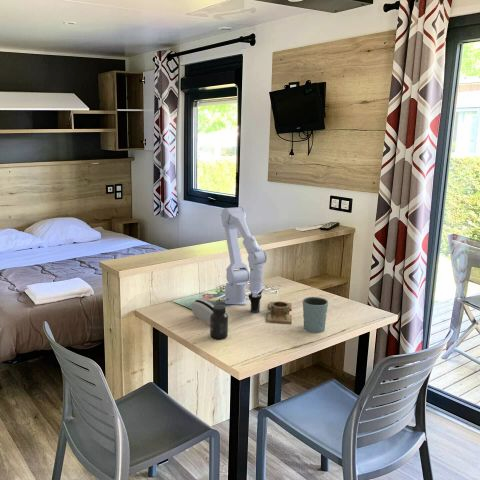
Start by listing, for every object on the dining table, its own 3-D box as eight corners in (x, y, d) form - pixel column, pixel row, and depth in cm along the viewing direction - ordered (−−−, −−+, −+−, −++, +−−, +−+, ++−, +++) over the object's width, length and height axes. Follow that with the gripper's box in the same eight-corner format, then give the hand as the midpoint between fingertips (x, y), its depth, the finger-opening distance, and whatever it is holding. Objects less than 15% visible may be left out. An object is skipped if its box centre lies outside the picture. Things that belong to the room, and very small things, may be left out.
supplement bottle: (207, 334, 191) (207, 305, 188) (222, 331, 194) (223, 303, 191) (214, 341, 185) (215, 311, 182) (230, 338, 188) (231, 308, 186)
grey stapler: (226, 324, 201) (220, 304, 197) (218, 330, 199) (211, 310, 195) (202, 312, 214) (196, 293, 209) (194, 318, 211) (187, 299, 207)
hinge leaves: (267, 322, 205) (267, 313, 204) (269, 303, 227) (270, 295, 226) (291, 323, 204) (291, 314, 203) (291, 305, 226) (291, 296, 225)
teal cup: (331, 331, 198) (333, 303, 195) (310, 335, 193) (312, 306, 190) (316, 322, 206) (318, 295, 204) (296, 326, 202) (297, 298, 199)
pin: (248, 313, 214) (249, 296, 213) (249, 309, 219) (250, 292, 218) (260, 314, 214) (261, 297, 212) (261, 309, 219) (261, 293, 217)
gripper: (264, 283, 206) (263, 314, 209) (266, 273, 220) (265, 302, 223) (247, 282, 206) (246, 312, 209) (250, 272, 221) (249, 301, 224)
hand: (255, 307), depth 216 cm, fingers open, 6 cm apart
